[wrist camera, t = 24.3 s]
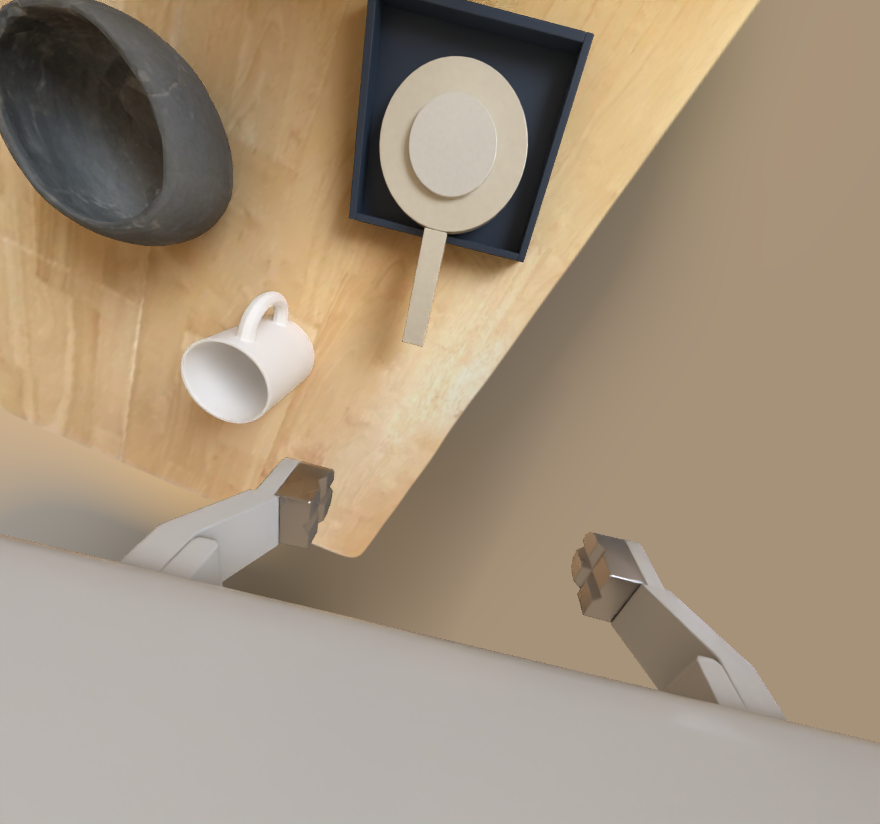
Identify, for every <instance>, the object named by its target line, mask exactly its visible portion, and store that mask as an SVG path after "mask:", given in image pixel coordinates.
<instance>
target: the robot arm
mask: <svg viewBox="0 0 880 824" xmlns="http://www.w3.org/2000/svg"><path fill="white" fill-rule="evenodd" d="M333 480H334V470H333V469H330V468H326V467H322V466H318V465H315V464H311V463H307V462H303V461H299V460H295V459H291V458H287V457H286V458H284V459H282V460H281V461H280V463H279V464H278V465H277V466H276V467H275V468H274V469H273V471H272V472H271V473H270V474H269V475H268V476H267V477H266V478H265V480H264V481H263V482H262V483H261V484H260V485H259V486H258V488H257V489H256V490H251V489H250V490H247V491H245V492H242V493H239V494H237V495H234V496H232V497H229V498H227V499H224V500H221V501H219V502H216V503H214V504H211V505H209V506H206V507H204V508H201V509H198V510H196V511H193V512H191V513H188V514H185V515H183V516H180V517H178V518H175V519H173V520H170V521H167V522H165V523H163V524H160V525H158V526H157V527H156V528H155V529H154V530H153V531H152V532H150V533H149V534H148V535H147V536H146V537H145V538H144V539H143V540H142V541H141V542H140V543H138V544H137V545H136V546H135V547H134V548H133V549H132V550H131V551H130V552H128V553H127V554H126V555H125V556H124V557H123V558H122V559H121V560H120V561H118V562H116V561H111V560H107V559H103V558H99V557H95V556H90V555H86V554H82V553H78V552H73V551H69V550H65V549H61V548H57V547H52V546H47V545H44V544H39V543H35V542H31V541H27V540H23V539H18V538H14V537H9V536H5V535H1V534H0V824H880V743H879V742H875V741H871V740H866V739H862V738H858V737H854V736H849V735H845V734H840V733H837V732H832V731H828V730H824V729H819V728H815V727H811V726H807V725H803V724H799V723H794V722H790V721H787V719H786V718H785V716H784V715H783V713H782V711H781V710H780V708H779V707H778V705H777V703H776V702H775V700H774V699H773V697H772V696H771V694H770V693H769V691H768V689H767V688H766V686H765V685H764V683H763V681H762V680H761V678H760V677H759V675H758V673H757V672H756V670H755V669H754V667H753V666H752V665H751V664H749V663H748V662H747V661H746V660H745V659H744V658H743V657H742V656H741V655H739V654H738V653H737V652H736V651H735V650H734V649H733V648H732V647H731V646H730V645H729V644H728V643H726V642H725V641H724V640H723V639H722V638H721V637H720V636H719V635H718V634H717V633H715V632H714V631H713V630H712V629H711V628H710V627H709V626H708V625H707V624H706V623H704V622H703V621H702V620H701V619H700V618H699V617H698V616H697V615H696V614H695V613H693V612H692V611H691V610H690V609H689V608H688V607H687V606H686V605H685V604H684V603H683V602H681V601H680V600H679V599H678V598H677V597H676V596H675V595H674V594H673V593H672V592H671V591H669V590H665V589H664V588H663V586H662V584H661V582H660V580H659V578H658V576H657V574H656V572H655V570H654V569H653V567H652V565H651V563H650V561H649V559H648V557H647V555H646V553H645V552H644V550H643V548H642V546H641V545H640V544H639V543H637V542H633V541H628V540H624V539H618V538H614V537H610V536H605V535H601V534H597V533H592V532H589V533H588V534H586V536H585V537H584V539H583V543H584V547H582V548H580V549H578V550H577V551H576V553H575V555H574V556H573V560H572V565H571V566H572V567H571V568H572V576H573V580H574V582H575V583H576V584H577V585H578V586H579V588H580V590H579V592H578V594H577V595H578V598H579V602H580V605H581V609H582V613H583V615H585V616H588V617H592V618H596V619H599V620H603V621H607V622H611V625H612V626H613V628H614V629H615V631H616V632H617V633H618V635H619V636H620V637H621V638H622V640H623V641H624V643H625V644H626V646H627V647H628V648H629V650H630V651H631V652H632V654H633V655H634V657H635V658H636V659H637V661H638V662H639V664H640V665H641V666H642V668H643V669H644V670H645V672H646V673H647V674H648V676H649V677H650V679H651V680H652V681H653V683H654V684H655V685H656V687H657V688H658V690H655V689H651V688H647V687H643V686H639V685H635V684H630V683H626V682H622V681H618V680H614V679H609V678H605V677H601V676H597V675H592V674H588V673H584V672H579V671H576V670H571V669H567V668H563V667H559V666H554V665H550V664H546V663H542V662H537V661H533V660H529V659H525V658H520V657H516V656H512V655H508V654H503V653H499V652H495V651H491V650H486V649H483V648H478V647H474V646H470V645H466V644H462V643H457V642H453V641H449V640H445V639H440V638H436V637H432V636H428V635H424V634H419V633H415V632H411V631H407V630H403V629H398V628H394V627H390V626H385V625H381V624H377V623H373V622H369V621H364V620H360V619H356V618H352V617H348V616H344V615H339V614H335V613H331V612H327V611H323V610H318V609H314V608H310V607H306V606H301V605H297V604H293V603H289V602H285V601H280V600H276V599H272V598H267V597H263V596H259V595H255V594H251V593H247V592H242V591H238V590H234V589H230V588H226V587H223V585H222V582H223V581H224V580H226V579H227V578H229V577H230V576H232V575H233V574H235V573H236V572H238V571H240V570H241V569H243V568H244V567H245V566H247V565H248V564H250V563H252V562H253V561H255V560H256V559H257V558H259V557H261V556H262V555H264V554H265V553H267V552H268V551H270V550H271V549H273V548H274V547H276V546H277V545H278V543H281V544H286V545H290V546H295V547H300V548H305V549H308V547H309V546H310V544H311V542H312V540H313V538H314V536H315V535H316V533H317V528H318V523H319V522H321V521H323V520H324V518H325V516H326V514H327V512H328V509H329V506H330V503H331V499H332V492H333V491H332V489H331V488H330V485H331V484H332V482H333Z"/></svg>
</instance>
